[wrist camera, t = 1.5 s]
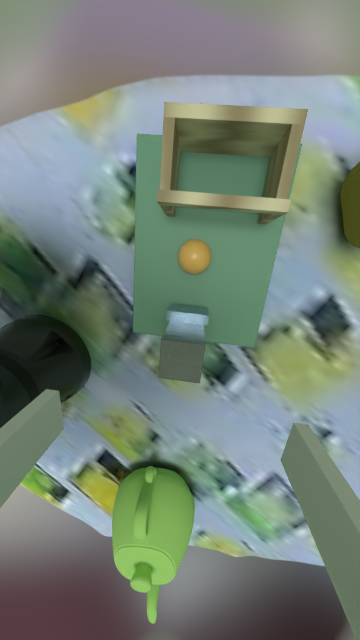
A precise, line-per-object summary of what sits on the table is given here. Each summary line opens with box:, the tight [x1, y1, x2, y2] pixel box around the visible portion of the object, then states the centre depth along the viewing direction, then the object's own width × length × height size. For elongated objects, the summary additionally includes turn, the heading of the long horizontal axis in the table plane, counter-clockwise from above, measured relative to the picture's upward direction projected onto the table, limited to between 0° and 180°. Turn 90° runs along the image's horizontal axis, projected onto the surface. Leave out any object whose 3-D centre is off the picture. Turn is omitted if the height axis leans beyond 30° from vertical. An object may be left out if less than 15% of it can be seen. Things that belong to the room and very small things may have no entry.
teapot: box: [112, 466, 195, 624], centre depth 34 cm, size 22×15×13 cm
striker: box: [159, 303, 209, 383], centre depth 22 cm, size 5×5×10 cm
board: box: [133, 134, 302, 347], centre depth 25 cm, size 18×24×1 cm
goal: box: [157, 102, 308, 225], centre depth 19 cm, size 12×8×6 cm, turn 85°
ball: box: [178, 239, 211, 274], centre depth 23 cm, size 4×4×4 cm
